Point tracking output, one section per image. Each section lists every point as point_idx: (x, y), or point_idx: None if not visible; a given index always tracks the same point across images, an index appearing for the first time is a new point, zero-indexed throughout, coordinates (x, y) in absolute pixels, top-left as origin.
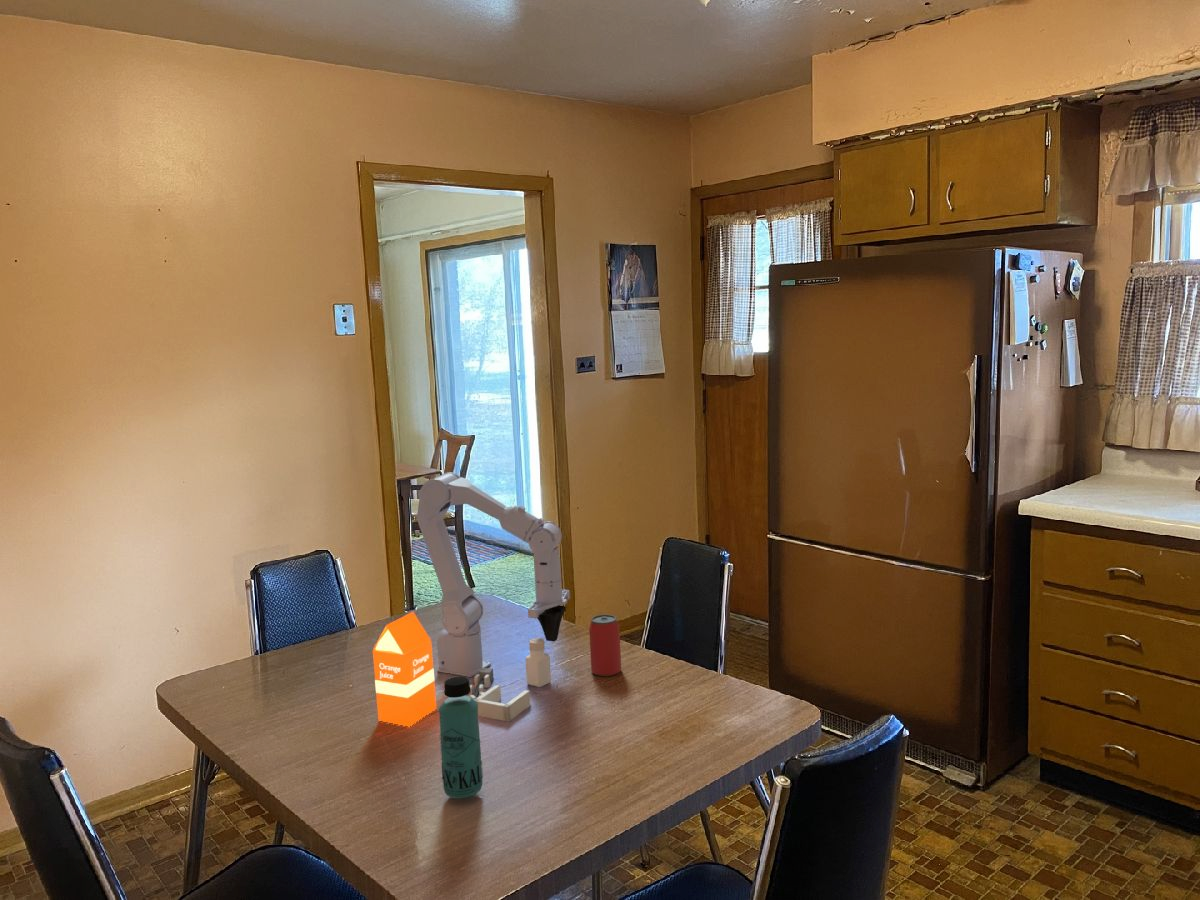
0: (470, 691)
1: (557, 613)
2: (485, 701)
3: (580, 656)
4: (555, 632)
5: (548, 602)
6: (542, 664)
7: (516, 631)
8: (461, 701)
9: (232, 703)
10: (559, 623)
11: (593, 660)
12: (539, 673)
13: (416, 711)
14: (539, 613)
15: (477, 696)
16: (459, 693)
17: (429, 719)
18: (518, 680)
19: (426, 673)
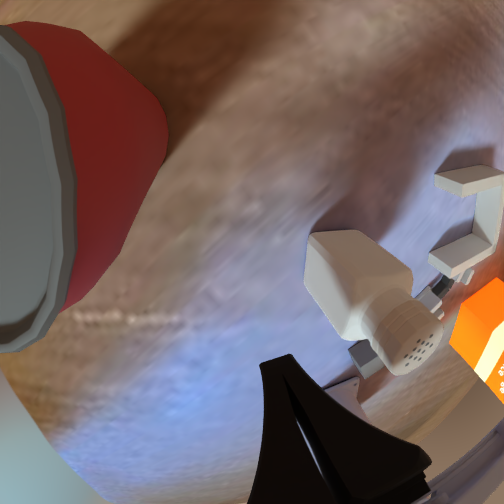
0: (439, 309)
1: (409, 474)
2: (498, 229)
3: (86, 313)
4: (309, 385)
5: None
6: (386, 261)
7: (132, 459)
8: None
9: (443, 410)
10: (279, 434)
11: (162, 154)
12: (382, 247)
13: (498, 292)
14: (469, 457)
15: (439, 290)
16: None
17: (483, 279)
18: None
19: None
